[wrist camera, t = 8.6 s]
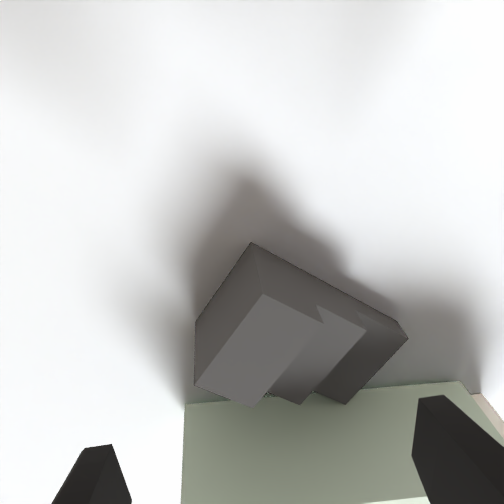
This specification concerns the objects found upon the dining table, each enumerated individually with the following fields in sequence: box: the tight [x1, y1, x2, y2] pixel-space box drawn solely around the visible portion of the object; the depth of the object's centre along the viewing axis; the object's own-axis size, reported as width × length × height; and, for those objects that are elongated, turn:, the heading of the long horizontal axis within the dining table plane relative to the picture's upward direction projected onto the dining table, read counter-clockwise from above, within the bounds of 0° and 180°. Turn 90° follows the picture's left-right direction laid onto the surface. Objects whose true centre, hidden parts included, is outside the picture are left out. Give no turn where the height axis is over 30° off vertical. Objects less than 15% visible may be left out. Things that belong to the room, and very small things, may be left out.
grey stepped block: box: [194, 242, 408, 408], centre depth 17 cm, size 8×4×4 cm, turn 57°
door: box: [181, 381, 504, 504], centre depth 19 cm, size 14×2×6 cm, turn 90°
